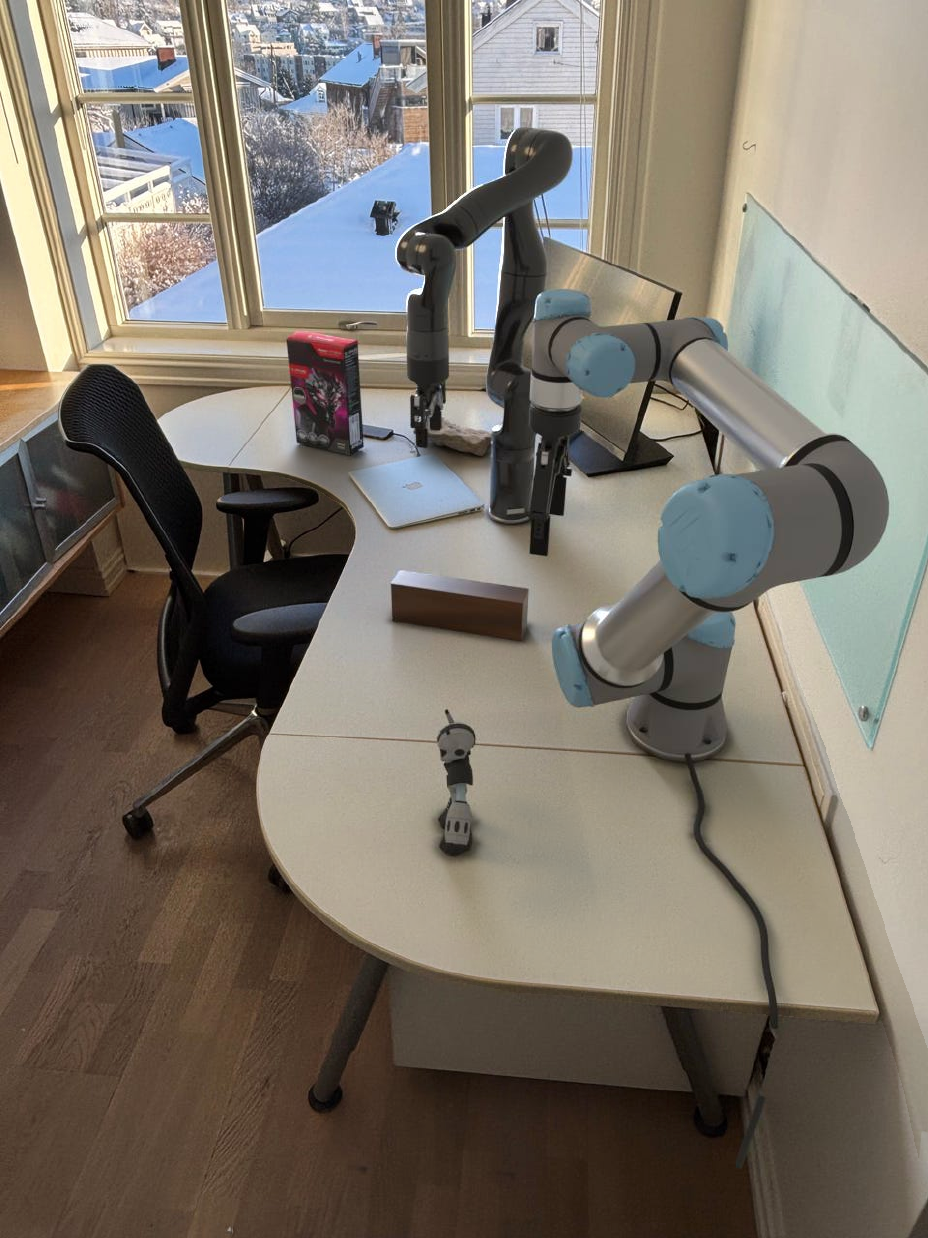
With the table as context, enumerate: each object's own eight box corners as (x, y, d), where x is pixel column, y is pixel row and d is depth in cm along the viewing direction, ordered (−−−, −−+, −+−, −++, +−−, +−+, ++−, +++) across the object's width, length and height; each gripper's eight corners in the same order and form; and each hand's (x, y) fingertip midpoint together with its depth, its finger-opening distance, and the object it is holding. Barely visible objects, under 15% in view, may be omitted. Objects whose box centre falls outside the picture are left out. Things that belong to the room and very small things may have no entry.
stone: (397, 439, 228) (402, 416, 226) (416, 430, 242) (421, 408, 239) (477, 464, 225) (483, 440, 222) (491, 454, 238) (497, 431, 236)
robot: (478, 890, 117) (481, 774, 106) (439, 891, 117) (438, 775, 106) (469, 781, 133) (471, 671, 122) (436, 782, 133) (434, 671, 122)
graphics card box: (294, 443, 234) (283, 336, 218) (310, 434, 239) (300, 328, 224) (350, 457, 227) (343, 347, 212) (366, 447, 232) (360, 339, 217)
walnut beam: (521, 641, 163) (523, 603, 158) (392, 620, 168) (390, 583, 163) (526, 625, 167) (528, 588, 162) (400, 606, 172) (399, 569, 167)
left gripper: (436, 366, 156) (437, 455, 166) (458, 341, 168) (458, 426, 177) (394, 362, 158) (397, 450, 167) (419, 338, 170) (421, 422, 179)
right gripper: (566, 438, 122) (556, 576, 133) (594, 377, 142) (583, 501, 153) (511, 432, 123) (505, 569, 135) (546, 372, 143) (539, 496, 155)
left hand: (429, 437), depth 172 cm, fingers open, 8 cm apart
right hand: (547, 533), depth 144 cm, fingers open, 13 cm apart
